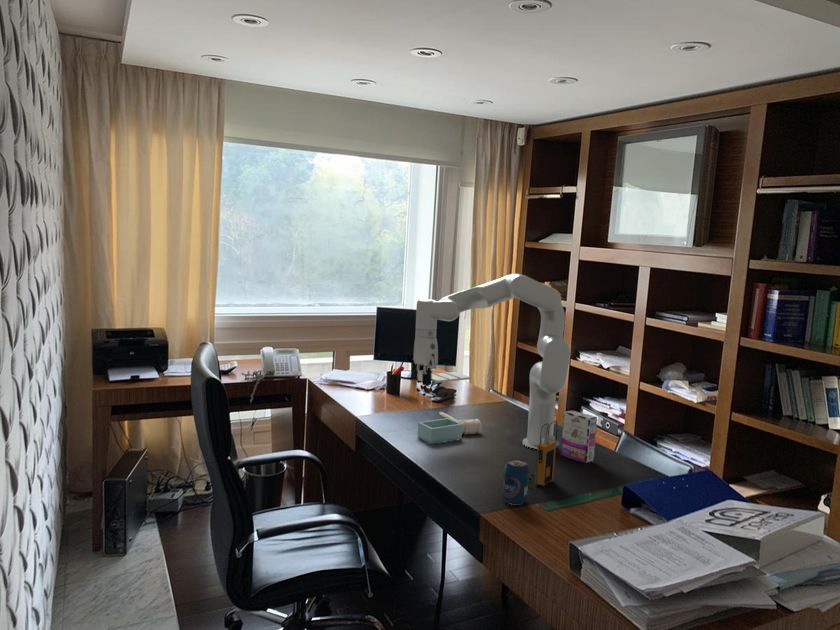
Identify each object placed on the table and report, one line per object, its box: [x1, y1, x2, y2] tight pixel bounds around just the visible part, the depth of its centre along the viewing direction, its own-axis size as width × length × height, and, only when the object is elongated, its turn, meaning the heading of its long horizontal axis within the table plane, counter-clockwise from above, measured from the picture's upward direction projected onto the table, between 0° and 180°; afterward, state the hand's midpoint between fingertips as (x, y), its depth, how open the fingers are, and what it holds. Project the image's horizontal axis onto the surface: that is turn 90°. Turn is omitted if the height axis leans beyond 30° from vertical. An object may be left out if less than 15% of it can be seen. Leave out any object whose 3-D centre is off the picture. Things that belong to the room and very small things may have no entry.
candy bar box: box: [560, 409, 598, 463], centre depth 222 cm, size 11×5×16 cm, turn 40°
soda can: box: [502, 458, 530, 504], centre depth 183 cm, size 7×7×12 cm
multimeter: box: [534, 420, 558, 489], centre depth 200 cm, size 15×10×20 cm
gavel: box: [438, 411, 483, 436], centre depth 258 cm, size 10×6×32 cm
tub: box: [417, 418, 463, 445], centre depth 238 cm, size 9×14×6 cm, turn 123°
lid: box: [418, 370, 471, 384], centre depth 232 cm, size 10×19×4 cm, turn 122°
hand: (423, 383), depth 228 cm, fingers closed on lid, 3 cm apart
